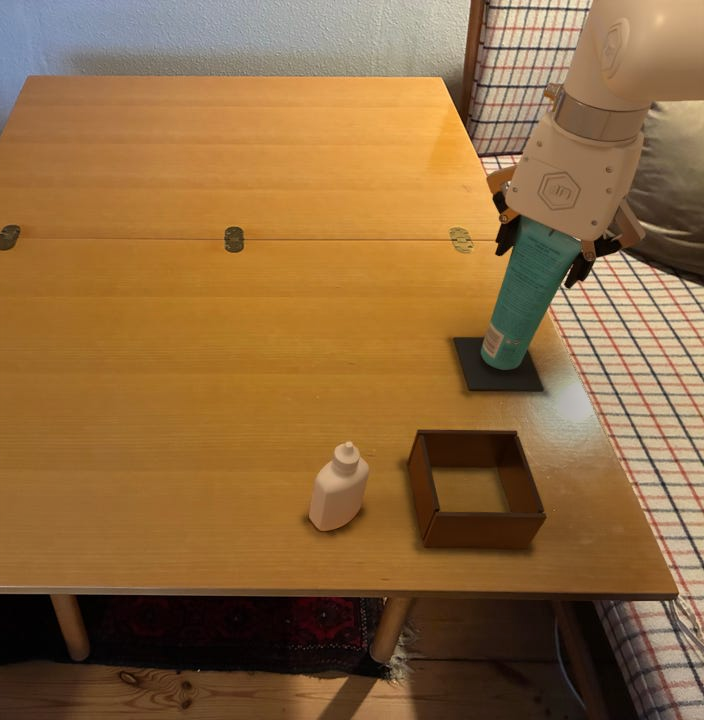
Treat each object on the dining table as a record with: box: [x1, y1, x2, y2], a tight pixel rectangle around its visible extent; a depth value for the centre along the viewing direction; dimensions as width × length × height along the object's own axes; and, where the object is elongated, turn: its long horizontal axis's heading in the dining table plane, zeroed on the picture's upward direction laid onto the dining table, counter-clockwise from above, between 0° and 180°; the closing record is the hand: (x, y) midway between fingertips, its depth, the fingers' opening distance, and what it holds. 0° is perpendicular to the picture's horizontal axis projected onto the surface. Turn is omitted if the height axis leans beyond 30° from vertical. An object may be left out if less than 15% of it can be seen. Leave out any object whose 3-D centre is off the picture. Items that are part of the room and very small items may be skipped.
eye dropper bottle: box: [308, 440, 371, 532], centre depth 68 cm, size 4×6×12 cm
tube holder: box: [406, 428, 548, 550], centre depth 71 cm, size 10×10×6 cm
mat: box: [453, 336, 545, 392], centre depth 87 cm, size 9×9×1 cm
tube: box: [481, 215, 582, 370], centre depth 79 cm, size 7×5×19 cm, turn 44°
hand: (537, 265), depth 76 cm, fingers closed on tube, 7 cm apart
